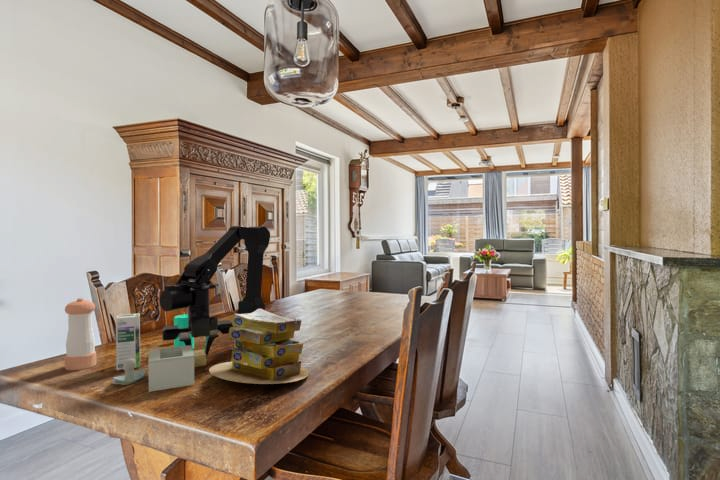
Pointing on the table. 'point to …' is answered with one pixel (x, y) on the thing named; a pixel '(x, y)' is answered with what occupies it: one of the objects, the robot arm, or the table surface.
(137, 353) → the syrup box
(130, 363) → the pacifier
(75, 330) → the pepper shaker
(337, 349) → the table surface
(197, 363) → the rectangular block
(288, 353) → the stacked boxes on plate
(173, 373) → the coin box
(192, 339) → the candle
